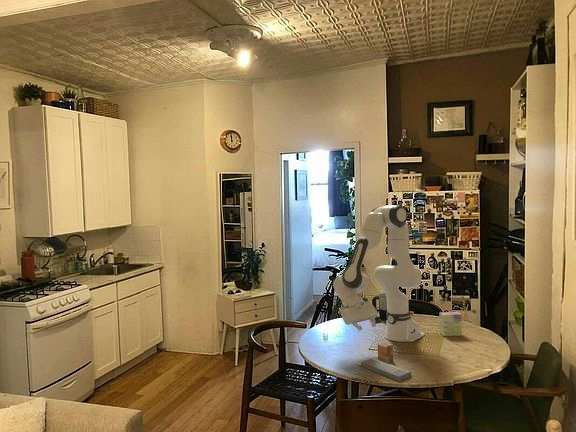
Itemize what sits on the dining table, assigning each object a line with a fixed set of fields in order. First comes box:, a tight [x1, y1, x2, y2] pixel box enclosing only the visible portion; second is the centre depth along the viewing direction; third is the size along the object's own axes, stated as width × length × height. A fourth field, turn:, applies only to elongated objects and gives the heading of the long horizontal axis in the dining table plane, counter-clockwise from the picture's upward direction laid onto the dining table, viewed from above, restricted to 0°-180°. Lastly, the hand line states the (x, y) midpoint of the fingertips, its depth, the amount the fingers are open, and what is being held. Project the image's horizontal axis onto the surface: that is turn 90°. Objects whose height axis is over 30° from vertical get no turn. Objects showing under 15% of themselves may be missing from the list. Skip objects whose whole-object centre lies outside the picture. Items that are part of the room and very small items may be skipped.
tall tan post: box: [377, 341, 394, 364], centre depth 216 cm, size 5×5×8 cm
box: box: [438, 311, 463, 337], centre depth 252 cm, size 10×6×12 cm, turn 92°
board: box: [360, 357, 412, 382], centre depth 204 cm, size 8×22×2 cm, turn 36°
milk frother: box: [371, 292, 387, 323], centre depth 285 cm, size 14×16×15 cm
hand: (367, 328), depth 224 cm, fingers open, 8 cm apart
